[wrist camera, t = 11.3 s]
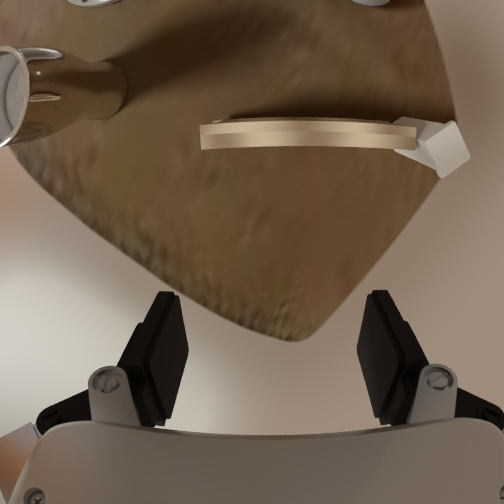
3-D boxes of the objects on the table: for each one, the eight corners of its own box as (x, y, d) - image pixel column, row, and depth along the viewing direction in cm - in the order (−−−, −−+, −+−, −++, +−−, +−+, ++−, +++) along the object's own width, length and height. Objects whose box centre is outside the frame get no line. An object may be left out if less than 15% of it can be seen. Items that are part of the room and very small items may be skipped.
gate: (382, 120, 26) (416, 127, 19) (382, 138, 26) (415, 150, 20) (215, 120, 26) (199, 125, 20) (216, 138, 27) (201, 149, 21)
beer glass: (138, 59, 25) (41, 37, 11) (125, 128, 28) (25, 157, 14) (79, 57, 24) (-29, 49, 11) (68, 121, 27) (-39, 149, 14)
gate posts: (256, -25, 21) (252, -73, 12) (293, -45, 19) (303, -95, 11) (394, 154, 28) (442, 178, 19) (426, 133, 26) (482, 149, 18)
